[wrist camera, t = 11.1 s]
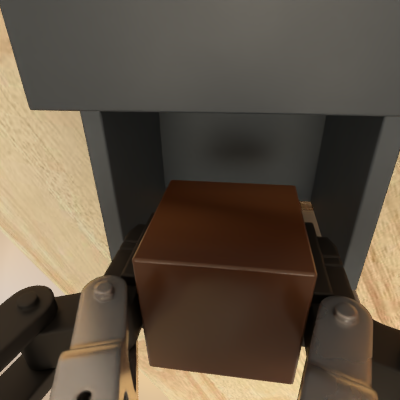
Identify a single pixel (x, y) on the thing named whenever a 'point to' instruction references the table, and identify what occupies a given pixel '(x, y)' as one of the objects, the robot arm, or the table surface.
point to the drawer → (247, 166)
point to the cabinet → (208, 55)
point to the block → (226, 280)
